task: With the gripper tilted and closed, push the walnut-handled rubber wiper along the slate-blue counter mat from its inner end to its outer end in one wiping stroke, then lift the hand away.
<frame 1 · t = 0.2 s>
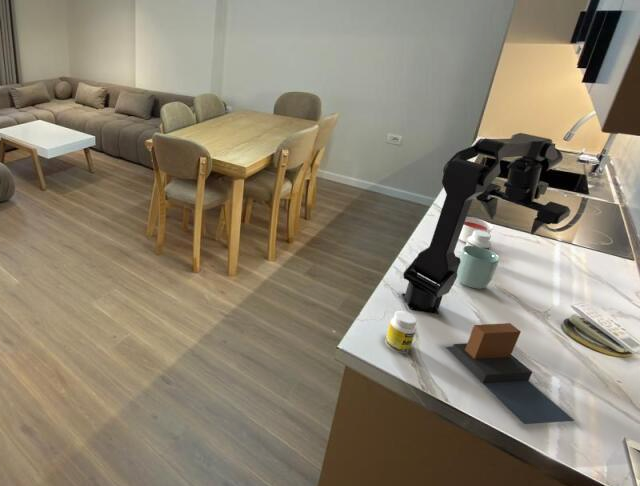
hand: (512, 226, 110), 15 cm above the counter, tool pointing down, fingers open, 9 cm apart
pill bottle: (472, 261, 121), on the counter
candle: (469, 240, 132), on the counter
cup: (470, 284, 111), on the counter
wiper: (487, 365, 85), resting on mat
supplement bottle: (396, 346, 91), on the counter
mat: (502, 381, 81), on the counter
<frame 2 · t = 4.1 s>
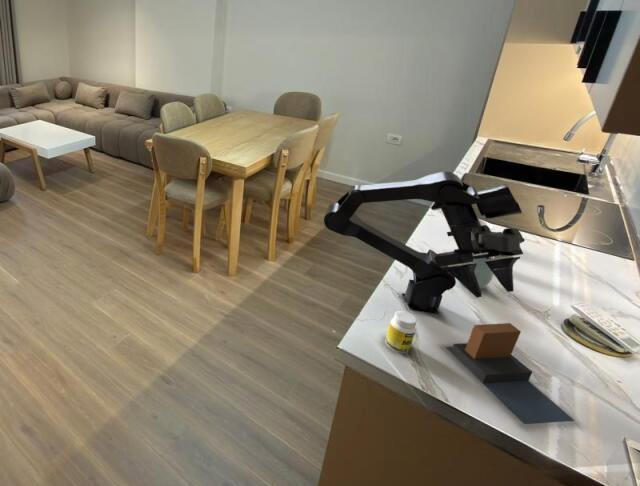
hand: (495, 294, 86), 14 cm above the counter, tool tilted 40°, fingers open, 9 cm apart
nothing on the counter moved.
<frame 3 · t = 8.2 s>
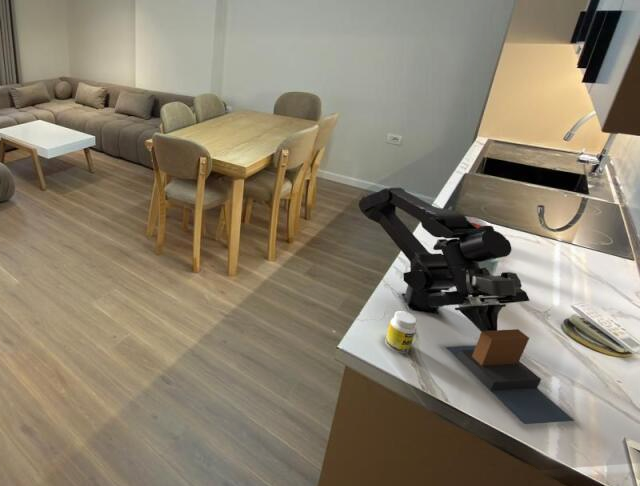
hand: (493, 340, 83), 7 cm above the counter, tool tilted 45°, fingers closed, pressing on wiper
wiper: (495, 372, 83), resting on mat, touching gripper
everything else where it was.
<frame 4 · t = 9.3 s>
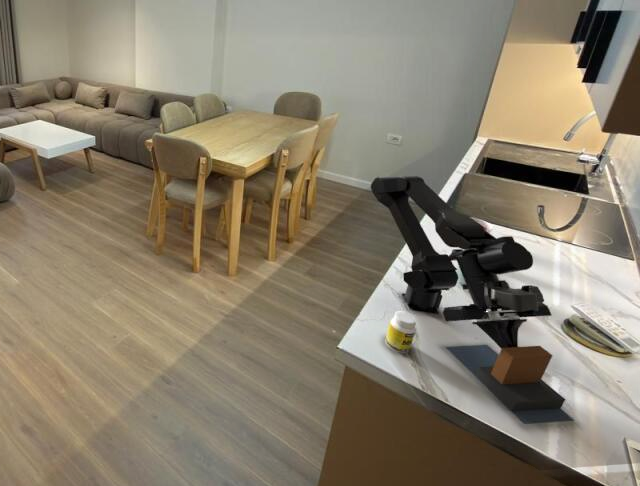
hand: (513, 357, 79), 7 cm above the counter, tool tilted 45°, fingers closed, pressing on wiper
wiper: (515, 391, 79), point 1 cm above the counter, touching gripper, mat
everything else where it was.
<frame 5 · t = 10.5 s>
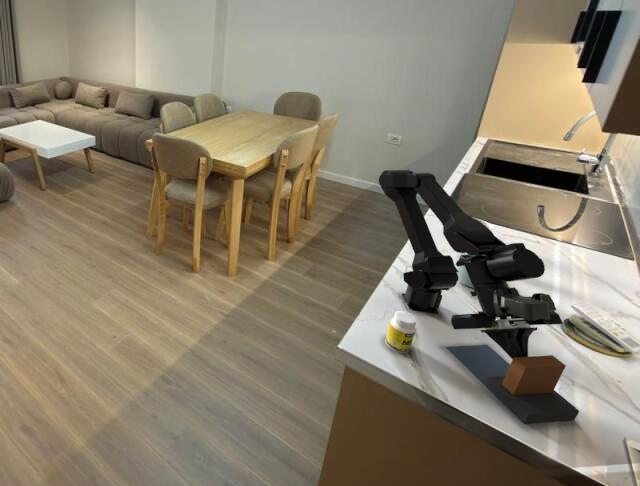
hand: (523, 367, 77), 7 cm above the counter, tool tilted 45°, fingers closed
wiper: (527, 401, 77), resting on mat
everything else where it was.
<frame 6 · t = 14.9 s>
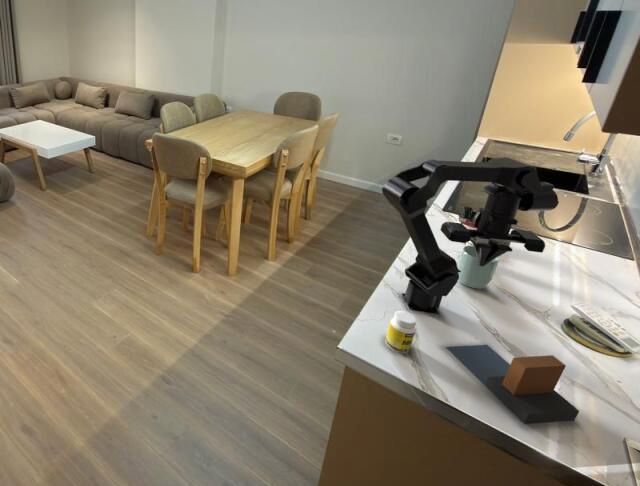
hand: (480, 265, 99), 12 cm above the counter, tool pointing down, fingers closed
nothing on the counter moved.
at the end: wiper inside the target area on the mat (0.6 cm from its centre), point 0.5 cm above the mat's base; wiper tilted 0°; cup moved 0.2 cm from its start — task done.
